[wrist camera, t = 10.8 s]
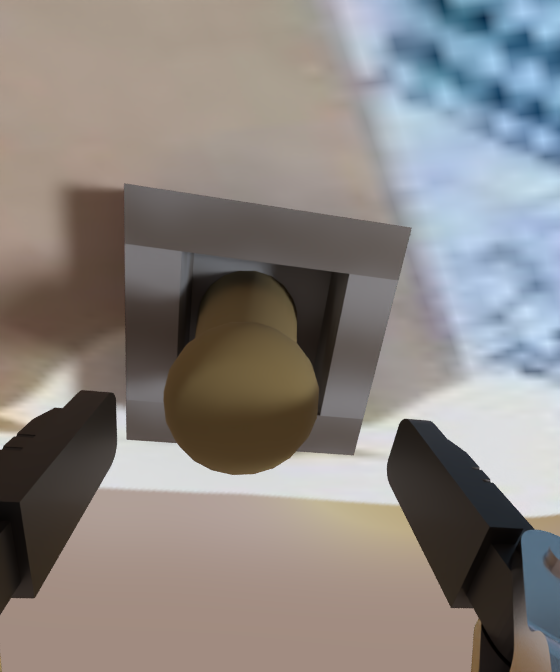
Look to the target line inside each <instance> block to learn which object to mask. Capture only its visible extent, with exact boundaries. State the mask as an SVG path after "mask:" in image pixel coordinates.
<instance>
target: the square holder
mask: <svg viewBox="0 0 560 672" xmlns="http://www.w3.org/2000/svg"><path fill="white" fill-rule="evenodd" d="M124 232H125V333H126V433H127V440H140V441H155V442H169V443H177V442H176V441H175V439H174V437H173V435H172V433H171V431H170V429H169V427H168V425H167V423H166V419H165V410H164V401H163V397H164V388H165V384H166V380H167V377H168V373H169V369H170V368H171V366H172V365H173V363H174V361H175V360H176V359H177V357H178V356H179V354H180V353H181V352H182V350H183V349H184V347H185V346H186V344H188V343H189V342H190V341H192V340H193V339H195V333H196V324H197V315H198V310H199V307H200V303H201V299H202V297H203V296H204V294H205V293H206V291H207V290H208V288H209V287H210V286H211V285H212V284H213V283H214V282H216V281H217V280H218V279H220V278H221V277H223V276H224V275H227V274H231V273H234V272H237V271H258V272H261V273H264V274H267V275H270V276H272V277H273V278H274V279H276V280H277V281H278V282H280V283H281V284H283V285H284V286H285V288H286V289H287V291H288V292H289V293H290V295H291V296H292V298H293V300H294V304H295V307H296V310H297V344H298V345H299V347H300V348H301V349H302V351H303V352H304V353H305V355H306V356H307V357H308V359H309V360H310V362H311V364H312V367H313V370H314V373H315V376H316V380H317V383H318V386H319V398H318V412H317V419H316V421H315V424H314V426H313V428H312V430H311V433H310V435H309V437H308V438H307V439H306V441H305V442H304V443H303V444H302V445H301V446H300V447H299V448H298V450H297V451H299V452H314V453H328V454H343V455H354V452H355V448H356V444H357V440H358V436H359V433H360V429H361V425H362V421H363V417H364V413H365V409H366V405H367V401H368V397H369V393H370V389H371V385H372V382H373V378H374V374H375V370H376V366H377V362H378V358H379V354H380V350H381V346H382V342H383V338H384V334H385V331H386V327H387V323H388V319H389V315H390V311H391V307H392V303H393V299H394V295H395V291H396V287H397V283H398V280H399V276H400V272H401V268H402V264H403V260H404V256H405V252H406V248H407V244H408V240H409V236H410V232H411V228H410V227H403V226H397V225H390V224H384V223H377V222H371V221H364V220H358V219H351V218H345V217H338V216H332V215H325V214H319V213H312V212H306V211H299V210H293V209H286V208H280V207H274V206H267V205H261V204H254V203H248V202H241V201H235V200H228V199H222V198H215V197H209V196H202V195H196V194H189V193H183V192H176V191H170V190H163V189H157V188H150V187H144V186H137V185H131V184H124Z"/></svg>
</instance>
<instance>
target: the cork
mask: <svg viewBox="0 0 560 672" xmlns="http://www.w3.org/2000/svg"><path fill="white" fill-rule="evenodd" d="M318 398H319V386H318V383H317V380H316V376H315V373H314V370H313V367H312V364H311V362H310V360H309V359H308V357H307V356H306V355H305V353H304V352H303V351H302V349H301V348H300V347H299V345H298V344H297V310H296V307H295V304H294V300H293V298H292V296H291V295H290V293H289V292H288V291H287V289H286V288H285V286H284V285H283V284H281V283H280V282H278V281H277V280H276V279H274V278H273V277H272V276H270V275H267V274H264V273H261V272H258V271H237V272H234V273H231V274H227V275H224V276H223V277H221V278H220V279H218V280H217V281H216V282H214V283H213V284H212V285H211V286H210V287H209V288H208V290H207V291H206V293H205V294H204V296H203V297H202V299H201V303H200V307H199V310H198V315H197V324H196V333H195V339H193V340H192V341H190V342H189V343H188V344H186V346H185V347H184V349H183V350H182V352H181V353H180V354H179V356H178V357H177V359H176V360H175V361H174V363H173V365H172V366H171V368H170V369H169V373H168V377H167V380H166V384H165V388H164V397H163V401H164V410H165V419H166V423H167V425H168V427H169V429H170V431H171V433H172V435H173V437H174V439H175V441H176V442H177V444H178V445H179V446H180V447H181V448H182V449H183V450H184V451H185V452H186V453H187V454H188V455H189V456H190V457H191V458H192V459H193V460H194V461H195V462H197V463H199V464H201V465H203V466H205V467H207V468H209V469H211V470H213V471H217V472H222V473H227V474H231V475H242V474H255V473H259V472H262V471H265V470H269V469H272V468H274V467H276V466H278V465H279V464H281V463H282V462H284V461H286V460H287V459H289V458H290V457H291V456H292V455H293V454H294V453H295V452H296V451H297V450H298V448H299V447H300V446H301V445H302V444H303V443H304V442H305V441H306V439H307V438H308V437H309V435H310V433H311V430H312V428H313V426H314V424H315V421H316V419H317V412H318Z"/></svg>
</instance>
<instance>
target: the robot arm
mask: <svg viewBox="0 0 560 672" xmlns="http://www.w3.org/2000/svg"><path fill="white" fill-rule="evenodd" d="M116 447H117V422H116V398H115V395H114V394H113V393H109V392H97V391H85V390H82V391H80V392H79V393H77V394H76V395H75V396H74V397H73V398H72V399H71V400H70V401H69V402H68V403H67V404H66V405H65V406H64V407H63V408H54V409H52V410H50V411H48V412H46V413H44V414H42V415H40V416H38V417H36V418H34V419H33V420H31V421H30V422H29V423H28V424H27V425H26V426H25V427H24V428H23V429H22V430H21V431H19V432H18V433H17V436H16V437H13V438H12V439H11V440H10V441H9V442H7V443H6V444H5V445H4V446H3V449H2V450H0V614H1V613H2V611H3V610H4V608H5V606H6V605H7V603H8V602H9V600H10V599H11V598H35V597H36V595H37V593H38V592H39V590H40V588H41V586H42V584H43V583H44V581H45V579H46V578H47V576H48V574H49V573H50V571H51V569H52V567H53V566H54V564H55V562H56V560H57V559H58V557H59V555H60V553H61V552H62V550H63V548H64V547H65V545H66V543H67V541H68V540H69V538H70V536H71V534H72V533H73V531H74V529H75V527H76V526H77V524H78V522H79V521H80V518H81V517H82V515H83V514H84V512H85V510H86V508H87V507H88V505H89V503H90V501H91V500H92V498H93V496H94V495H95V492H96V491H97V489H98V488H99V486H100V484H101V482H102V481H103V479H104V477H105V475H106V474H107V472H108V470H109V469H110V467H111V465H112V462H113V460H114V457H115V453H116ZM387 476H388V481H389V484H390V486H391V488H392V490H393V492H394V494H395V496H396V498H397V500H398V502H399V504H400V506H401V508H402V510H403V512H404V514H405V516H406V518H407V520H408V522H409V524H410V526H411V528H412V530H413V532H414V534H415V536H416V538H417V540H418V542H419V544H420V546H421V548H422V550H423V552H424V554H425V556H426V558H427V560H428V562H429V564H430V566H431V568H432V570H433V572H434V574H435V576H436V578H437V580H438V582H439V584H440V586H441V588H442V590H443V592H444V595H445V597H446V598H447V600H448V603H449V605H450V606H451V608H474V610H475V612H476V614H477V615H478V617H479V619H478V621H477V622H476V624H475V627H474V634H473V650H472V664H471V672H560V537H559V536H557V535H554V534H552V533H549V532H546V531H541V530H535V529H534V528H533V527H532V526H531V525H530V524H529V523H528V522H527V520H526V519H525V518H524V517H523V516H522V515H521V514H520V512H519V511H518V510H517V509H516V508H515V507H514V506H513V505H512V503H511V502H510V501H509V500H508V499H507V498H506V497H505V496H504V494H503V493H502V492H501V491H500V490H499V489H498V488H497V487H496V485H495V484H494V483H491V482H490V479H489V478H488V476H487V475H486V474H485V473H484V472H483V471H482V470H479V466H478V465H477V464H476V463H475V462H474V461H473V459H472V458H471V457H470V456H469V455H468V454H467V453H466V452H465V451H463V450H462V449H461V448H459V447H458V446H457V445H455V444H454V443H452V442H451V441H450V440H448V439H447V438H446V437H445V436H444V435H443V434H442V432H441V431H440V430H439V429H438V428H437V427H436V425H435V424H434V423H433V422H431V421H425V420H413V419H403V420H402V421H401V422H400V424H399V427H398V430H397V433H396V436H395V440H394V443H393V446H392V449H391V453H390V456H389V459H388V463H387ZM0 672H2V667H1V656H0Z"/></svg>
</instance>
